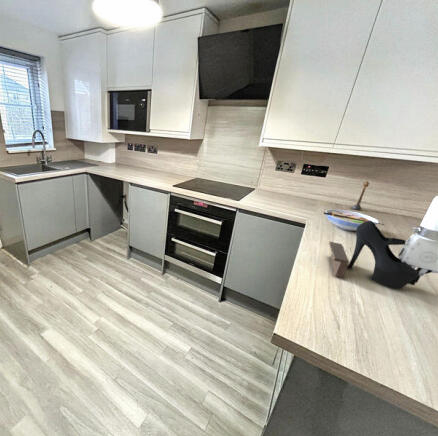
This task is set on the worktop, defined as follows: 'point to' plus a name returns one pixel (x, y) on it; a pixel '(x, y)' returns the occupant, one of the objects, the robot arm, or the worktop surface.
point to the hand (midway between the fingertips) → (408, 282)
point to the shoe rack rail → (338, 259)
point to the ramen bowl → (348, 219)
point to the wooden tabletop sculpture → (357, 206)
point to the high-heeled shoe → (383, 257)
